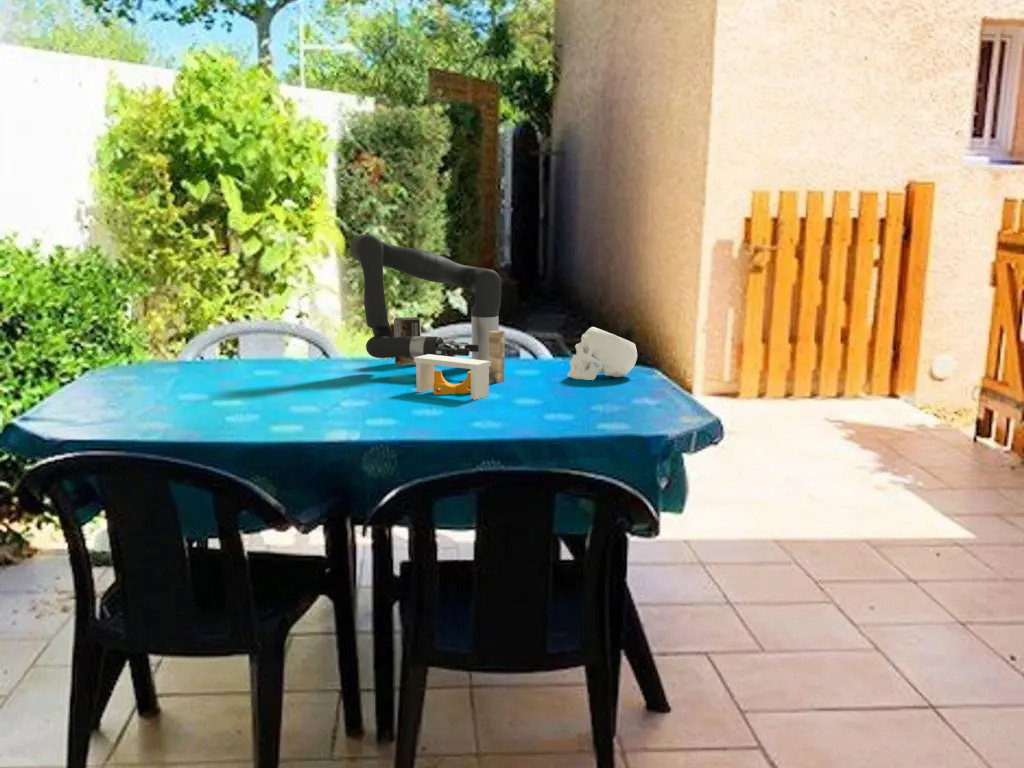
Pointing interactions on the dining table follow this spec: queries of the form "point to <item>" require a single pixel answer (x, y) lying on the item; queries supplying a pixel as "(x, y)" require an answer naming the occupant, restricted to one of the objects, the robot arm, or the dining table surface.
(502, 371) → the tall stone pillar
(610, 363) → the skull planter
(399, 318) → the coffee box
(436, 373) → the pipe clamp
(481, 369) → the shelf
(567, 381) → the dining table surface
